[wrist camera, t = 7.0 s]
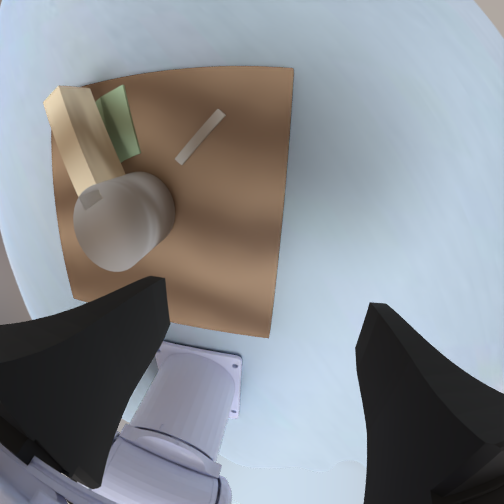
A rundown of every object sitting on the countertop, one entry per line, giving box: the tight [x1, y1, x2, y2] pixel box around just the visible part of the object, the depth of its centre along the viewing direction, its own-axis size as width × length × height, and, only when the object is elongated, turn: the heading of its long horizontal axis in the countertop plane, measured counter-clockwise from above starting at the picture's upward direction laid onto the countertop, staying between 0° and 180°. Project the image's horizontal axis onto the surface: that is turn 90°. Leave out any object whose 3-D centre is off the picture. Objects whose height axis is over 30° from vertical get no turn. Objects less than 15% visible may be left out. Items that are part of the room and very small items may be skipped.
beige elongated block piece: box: [43, 86, 175, 272], centre depth 15 cm, size 12×5×4 cm, turn 24°
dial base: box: [51, 66, 294, 338], centre depth 18 cm, size 18×18×1 cm
